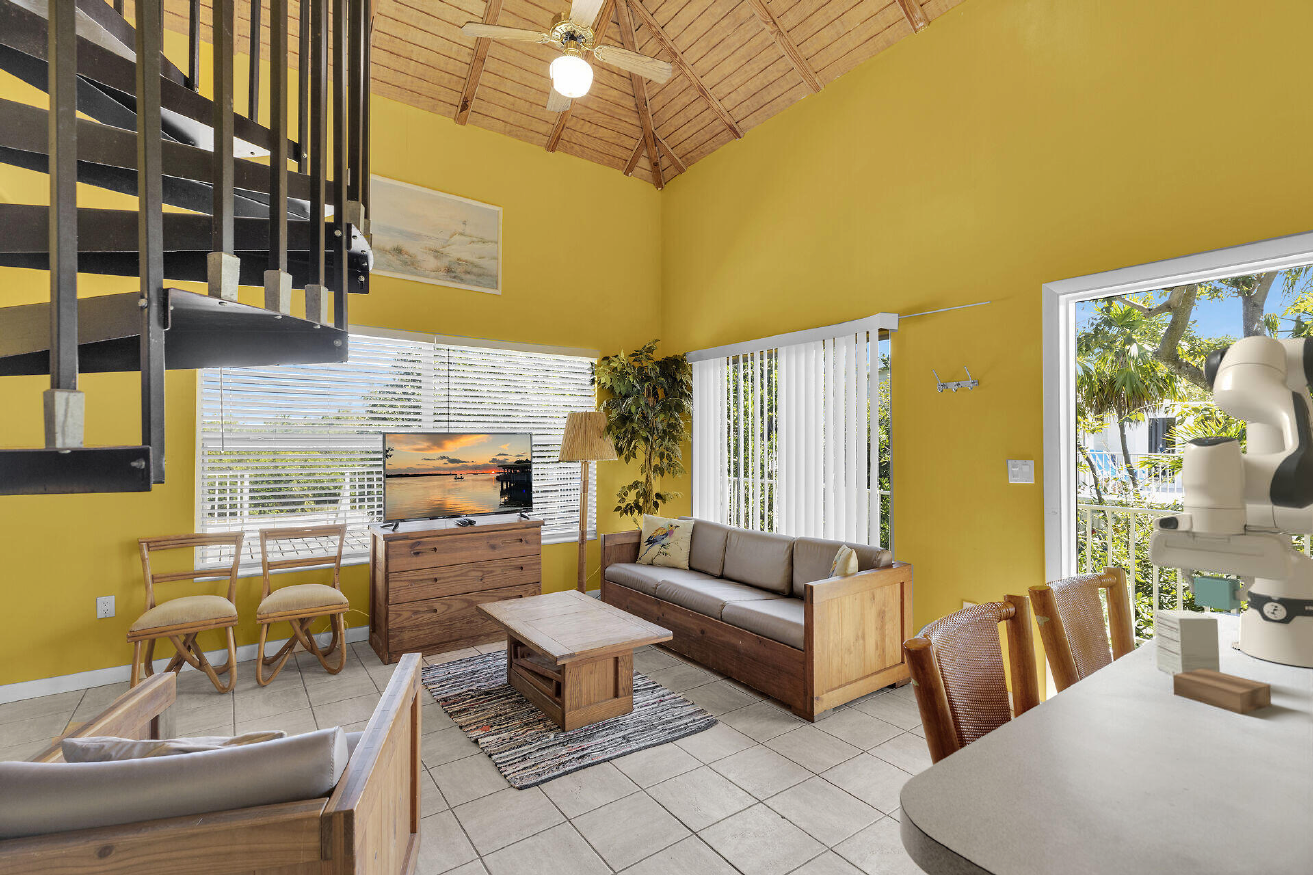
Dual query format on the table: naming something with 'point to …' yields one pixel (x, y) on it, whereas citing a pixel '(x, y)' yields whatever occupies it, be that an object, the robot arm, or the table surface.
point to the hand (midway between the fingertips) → (1217, 596)
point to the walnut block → (1222, 690)
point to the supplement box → (1186, 641)
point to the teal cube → (1216, 592)
